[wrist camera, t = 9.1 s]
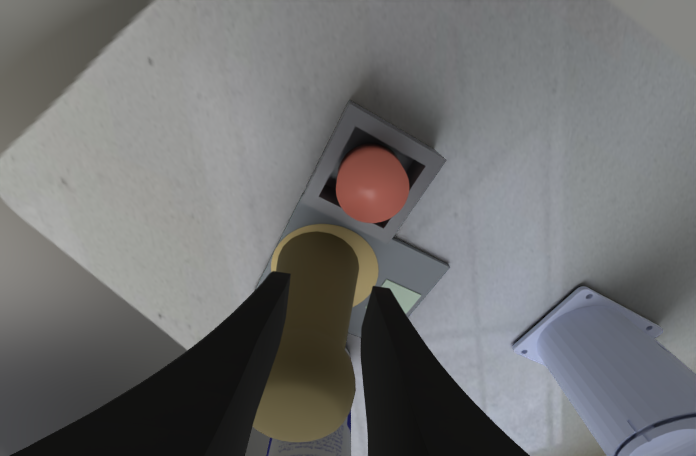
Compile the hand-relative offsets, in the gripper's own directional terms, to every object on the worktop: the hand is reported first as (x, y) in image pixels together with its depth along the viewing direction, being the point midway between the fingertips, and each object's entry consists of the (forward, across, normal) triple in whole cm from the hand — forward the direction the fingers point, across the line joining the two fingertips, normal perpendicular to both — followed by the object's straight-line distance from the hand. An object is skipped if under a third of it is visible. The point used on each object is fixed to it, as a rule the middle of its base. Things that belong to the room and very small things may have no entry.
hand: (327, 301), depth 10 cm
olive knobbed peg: (+10, 0, +6) cm, 12 cm away
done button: (+9, -2, -2) cm, 9 cm away
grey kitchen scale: (+10, -2, +7) cm, 12 cm away
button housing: (+10, -2, -2) cm, 11 cm away
